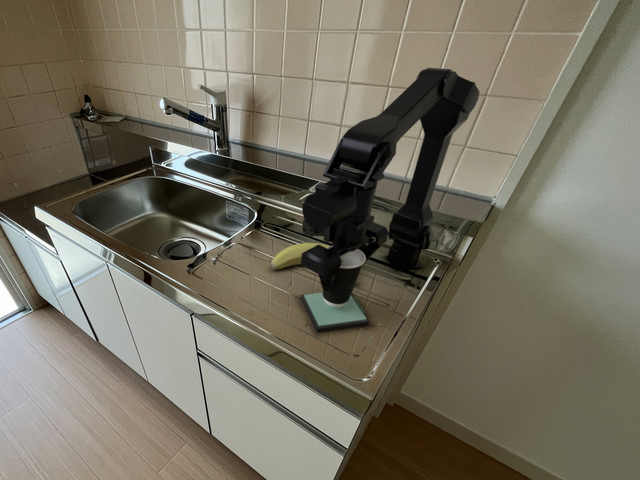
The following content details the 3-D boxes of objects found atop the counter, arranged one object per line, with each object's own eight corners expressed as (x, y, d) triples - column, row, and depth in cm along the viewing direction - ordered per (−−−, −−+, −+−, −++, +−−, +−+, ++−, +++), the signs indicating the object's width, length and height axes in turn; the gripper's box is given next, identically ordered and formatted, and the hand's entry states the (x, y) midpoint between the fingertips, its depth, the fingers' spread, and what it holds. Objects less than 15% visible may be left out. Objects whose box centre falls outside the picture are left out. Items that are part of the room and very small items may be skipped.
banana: (301, 226, 87) (371, 262, 78) (301, 241, 92) (367, 276, 83) (267, 258, 83) (337, 300, 74) (268, 272, 87) (335, 313, 78)
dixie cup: (312, 288, 74) (318, 245, 67) (348, 287, 74) (358, 243, 67) (320, 313, 68) (327, 268, 61) (359, 311, 68) (371, 266, 61)
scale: (349, 292, 78) (350, 287, 77) (370, 325, 69) (372, 320, 68) (300, 299, 76) (301, 293, 75) (316, 333, 68) (317, 327, 67)
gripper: (348, 182, 67) (336, 250, 77) (281, 211, 58) (277, 283, 68) (399, 199, 60) (379, 271, 70) (332, 234, 52) (320, 310, 62)
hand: (339, 282), depth 68 cm, fingers closed on dixie cup, 8 cm apart
